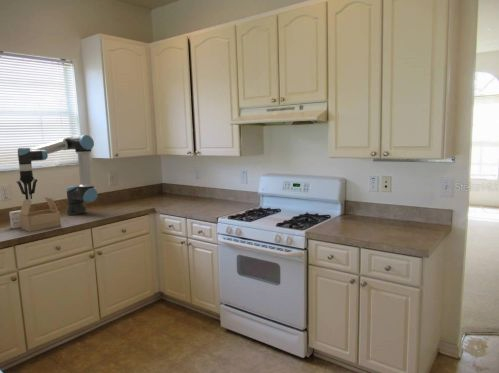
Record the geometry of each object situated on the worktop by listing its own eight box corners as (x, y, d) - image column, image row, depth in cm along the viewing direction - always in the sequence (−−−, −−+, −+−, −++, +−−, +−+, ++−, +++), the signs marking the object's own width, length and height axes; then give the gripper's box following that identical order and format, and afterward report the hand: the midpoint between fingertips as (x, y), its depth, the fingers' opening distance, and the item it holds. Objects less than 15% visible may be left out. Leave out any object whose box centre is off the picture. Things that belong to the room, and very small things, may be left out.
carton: (51, 222, 287) (50, 208, 286) (61, 226, 276) (60, 211, 274) (20, 228, 272) (18, 213, 270) (29, 232, 260) (27, 217, 259)
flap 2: (50, 208, 284) (44, 196, 280) (58, 210, 276) (52, 198, 272) (50, 208, 284) (44, 196, 280) (57, 210, 275) (51, 198, 271)
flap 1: (20, 213, 269) (24, 199, 270) (27, 215, 261) (31, 201, 262) (20, 213, 269) (23, 199, 270) (26, 215, 260) (30, 201, 261)
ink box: (23, 225, 280) (22, 209, 279) (26, 226, 277) (24, 210, 276) (10, 227, 274) (8, 211, 272) (13, 228, 271) (11, 212, 269)
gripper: (33, 169, 270) (37, 201, 274) (13, 170, 261) (17, 204, 264) (38, 169, 266) (41, 203, 269) (17, 171, 256) (21, 206, 259)
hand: (29, 203), depth 267 cm, fingers closed
